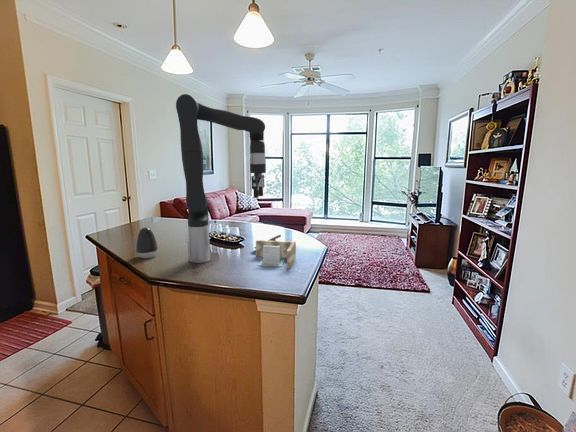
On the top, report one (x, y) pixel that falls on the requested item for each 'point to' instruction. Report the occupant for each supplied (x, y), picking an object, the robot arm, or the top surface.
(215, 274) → the top surface
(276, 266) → the pad
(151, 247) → the dark gray tapered dome
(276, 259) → the bracket
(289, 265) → the arena
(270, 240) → the wall
